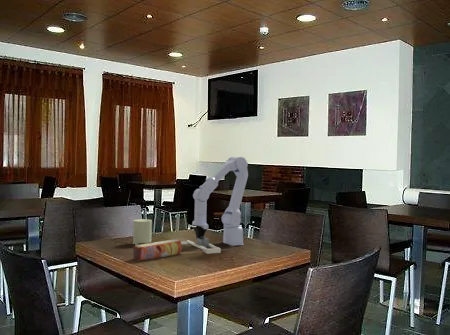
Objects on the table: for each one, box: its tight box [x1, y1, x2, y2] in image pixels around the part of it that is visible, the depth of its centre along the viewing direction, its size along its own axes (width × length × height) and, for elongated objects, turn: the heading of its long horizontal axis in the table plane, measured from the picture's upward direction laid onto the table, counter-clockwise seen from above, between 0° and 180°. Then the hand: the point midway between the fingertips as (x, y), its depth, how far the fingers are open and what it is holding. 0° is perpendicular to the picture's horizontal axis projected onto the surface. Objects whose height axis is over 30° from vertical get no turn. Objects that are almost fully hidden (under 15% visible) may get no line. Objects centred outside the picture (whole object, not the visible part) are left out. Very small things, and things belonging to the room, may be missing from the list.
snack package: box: [132, 238, 183, 262], centre depth 182 cm, size 21×7×7 cm, turn 133°
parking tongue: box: [179, 240, 189, 245], centre depth 211 cm, size 7×7×1 cm
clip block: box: [196, 235, 210, 248], centre depth 202 cm, size 4×5×5 cm
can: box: [132, 218, 153, 246], centre depth 212 cm, size 9×9×12 cm
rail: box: [186, 239, 222, 255], centre depth 203 cm, size 7×24×2 cm, turn 27°
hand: (199, 242), depth 206 cm, fingers closed
